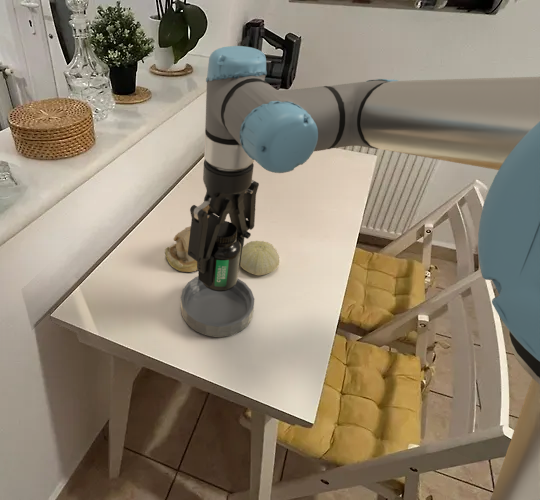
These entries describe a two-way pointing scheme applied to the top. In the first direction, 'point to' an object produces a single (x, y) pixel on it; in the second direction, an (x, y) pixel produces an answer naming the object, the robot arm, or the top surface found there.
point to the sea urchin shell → (259, 258)
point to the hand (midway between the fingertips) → (219, 271)
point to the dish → (217, 308)
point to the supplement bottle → (225, 258)
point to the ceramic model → (181, 253)
